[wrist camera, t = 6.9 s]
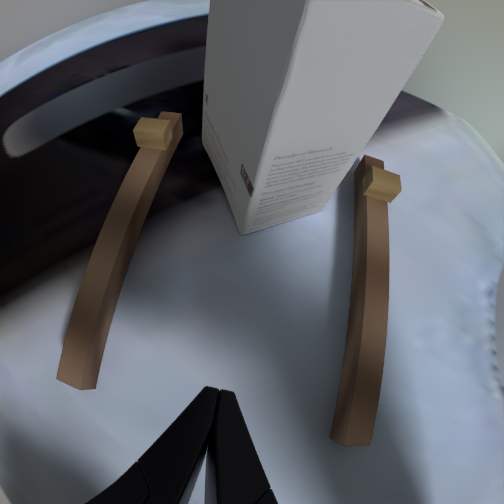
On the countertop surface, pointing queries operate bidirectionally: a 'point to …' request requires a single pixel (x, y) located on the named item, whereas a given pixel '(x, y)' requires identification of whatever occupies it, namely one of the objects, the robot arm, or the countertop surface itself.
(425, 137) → the countertop surface
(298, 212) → the skincare box
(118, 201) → the guide track
